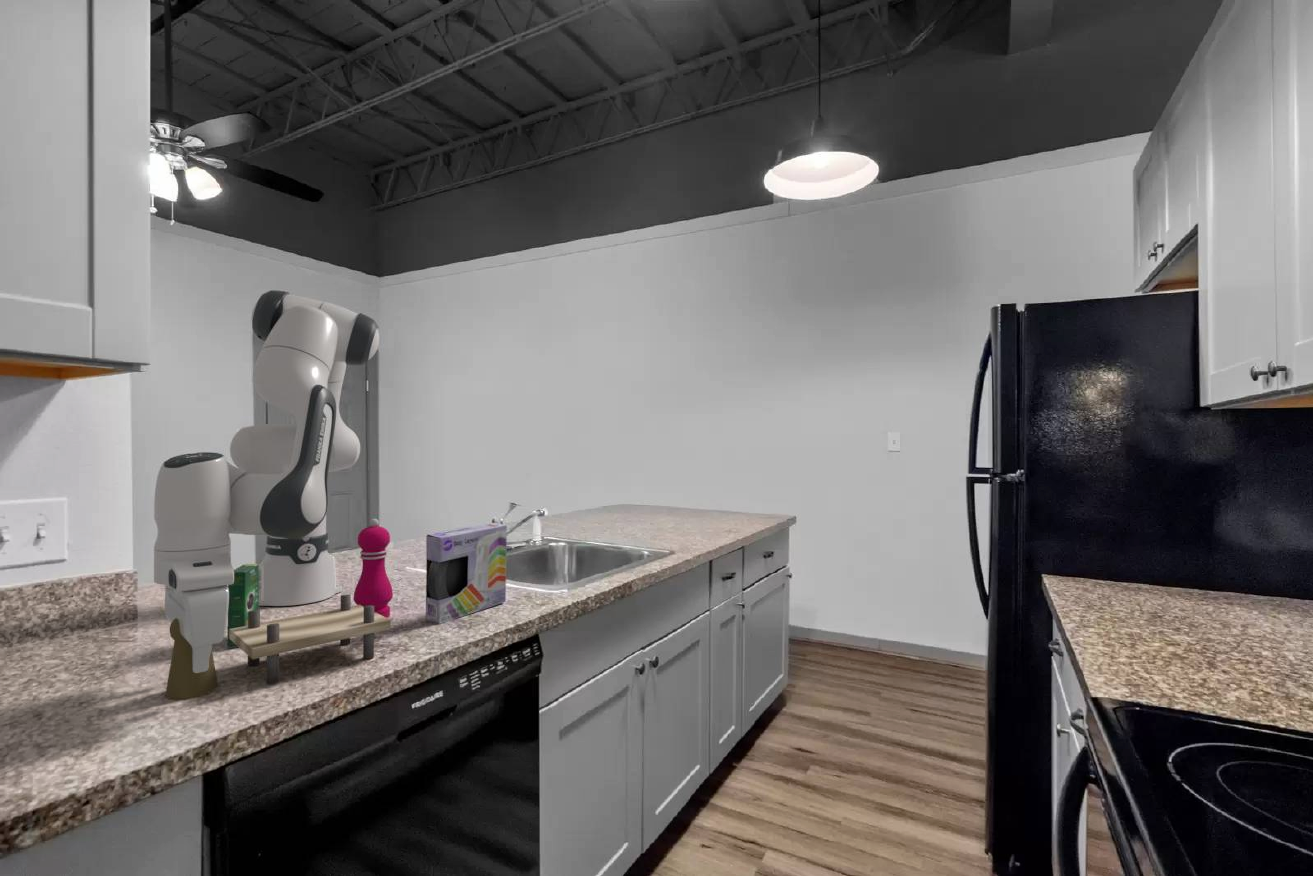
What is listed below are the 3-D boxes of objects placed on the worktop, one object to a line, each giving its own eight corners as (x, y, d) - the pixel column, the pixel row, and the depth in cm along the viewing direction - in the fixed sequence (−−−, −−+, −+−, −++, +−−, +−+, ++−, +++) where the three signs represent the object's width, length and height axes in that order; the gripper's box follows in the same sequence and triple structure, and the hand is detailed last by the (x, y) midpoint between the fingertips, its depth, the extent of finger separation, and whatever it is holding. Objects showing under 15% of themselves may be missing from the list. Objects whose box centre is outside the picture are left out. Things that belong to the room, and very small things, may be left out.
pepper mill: (377, 623, 121) (378, 521, 121) (345, 621, 123) (346, 520, 122) (400, 613, 128) (400, 517, 128) (369, 611, 130) (370, 515, 130)
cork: (188, 682, 92) (188, 608, 92) (227, 683, 92) (228, 609, 92) (153, 699, 86) (154, 620, 86) (196, 700, 86) (196, 621, 86)
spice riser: (229, 666, 98) (229, 613, 98) (359, 637, 113) (359, 591, 113) (252, 690, 89) (252, 631, 89) (390, 655, 104) (390, 605, 104)
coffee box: (241, 634, 114) (242, 563, 114) (259, 632, 115) (260, 562, 115) (225, 648, 106) (226, 572, 106) (244, 647, 107) (245, 571, 107)
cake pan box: (435, 626, 120) (436, 535, 120) (419, 622, 123) (420, 532, 123) (508, 604, 136) (509, 524, 136) (491, 600, 139) (492, 522, 139)
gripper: (152, 558, 94) (152, 649, 94) (180, 581, 80) (179, 688, 80) (203, 553, 98) (202, 639, 98) (237, 574, 84) (237, 675, 84)
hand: (192, 662), depth 89 cm, fingers open, 8 cm apart
